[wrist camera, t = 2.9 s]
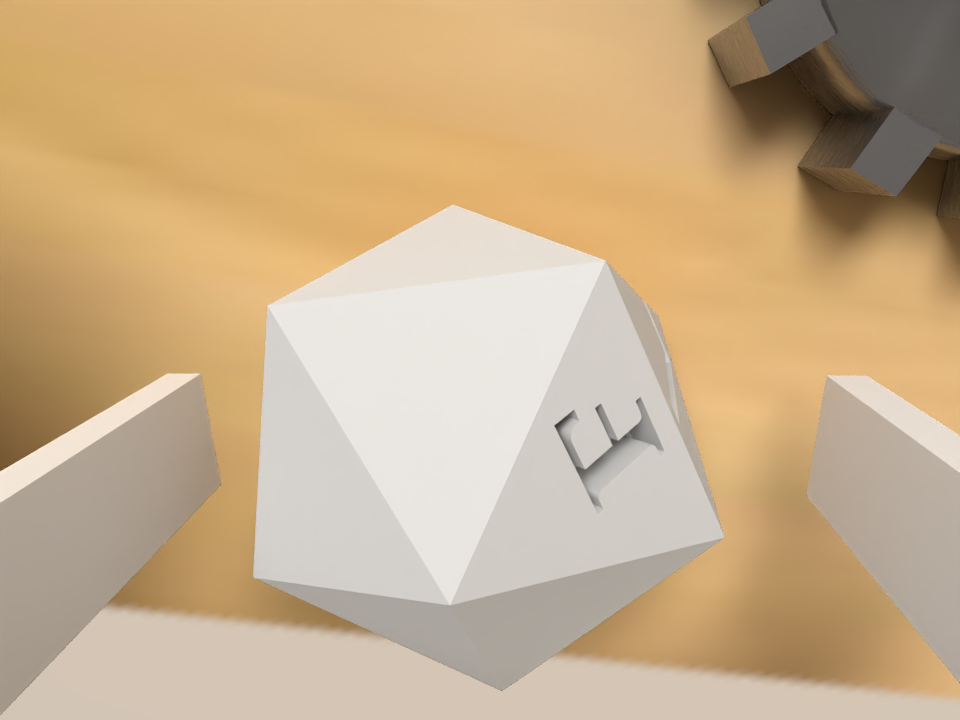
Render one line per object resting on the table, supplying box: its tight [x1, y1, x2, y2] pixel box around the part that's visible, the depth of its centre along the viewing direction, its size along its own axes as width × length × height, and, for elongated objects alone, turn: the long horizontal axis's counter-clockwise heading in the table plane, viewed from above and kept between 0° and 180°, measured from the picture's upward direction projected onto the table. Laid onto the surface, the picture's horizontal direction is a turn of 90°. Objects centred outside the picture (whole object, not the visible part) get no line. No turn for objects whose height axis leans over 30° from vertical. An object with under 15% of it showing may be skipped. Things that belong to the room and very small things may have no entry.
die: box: [253, 205, 725, 691], centre depth 12 cm, size 8×9×10 cm
